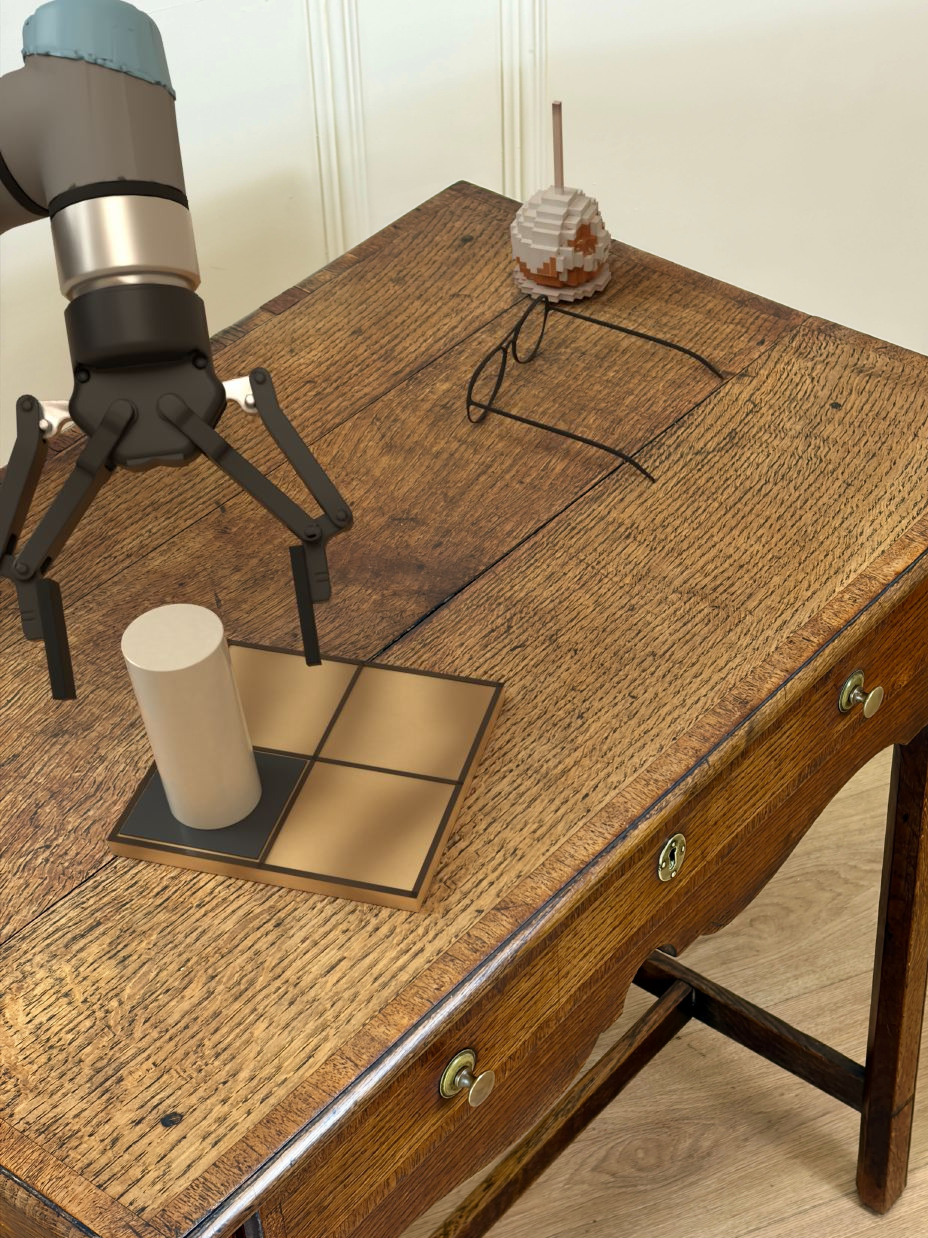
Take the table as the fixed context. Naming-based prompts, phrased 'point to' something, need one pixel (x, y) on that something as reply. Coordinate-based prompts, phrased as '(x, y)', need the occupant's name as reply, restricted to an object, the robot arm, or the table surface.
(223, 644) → the cream cylinder
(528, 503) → the table surface
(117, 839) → the board
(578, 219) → the caramel apple
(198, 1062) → the table surface
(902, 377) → the table surface
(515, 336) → the glasses
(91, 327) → the robot arm
